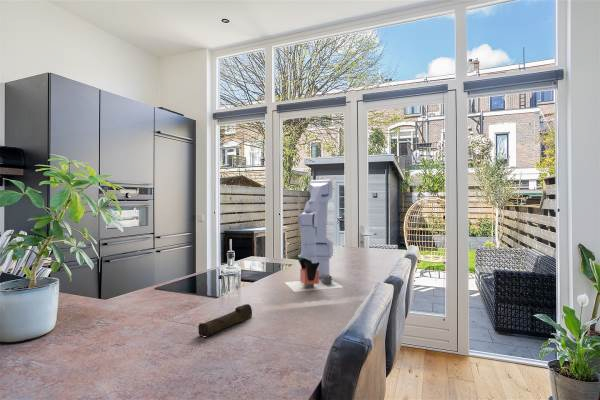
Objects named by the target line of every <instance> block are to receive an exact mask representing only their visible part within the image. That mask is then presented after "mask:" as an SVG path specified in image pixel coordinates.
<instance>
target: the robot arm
mask: <svg viewBox="0 0 600 400" xmlns="http://www.w3.org/2000/svg"><path fill="white" fill-rule="evenodd" d="M333 188H334V187H333V181H332V180H331V179H310V181H309V182H308V191H309V194H310V198H309V200H307V201H306V203H305V206H304V209H303V211H302V212H301V213H300V214H299V216H298V226H299V232H300V254H298V255H297V257H298V259H297V260H298V263H299V265H300V269H302V268H306V269H307V276H308V280H309V281H313V280H314V279H315V274H316V270H319V278H322V275H330V268H331V267H330V259H332V257H333V256H334V255H333V254H334V246H333V245H334V244H333V241H332V239H330V238H329V237H328V235H327V234H328V230H327V229H328V207H329V206H328V204H329V200H331V199H332V198H333ZM330 276H331V275H330Z"/></svg>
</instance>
